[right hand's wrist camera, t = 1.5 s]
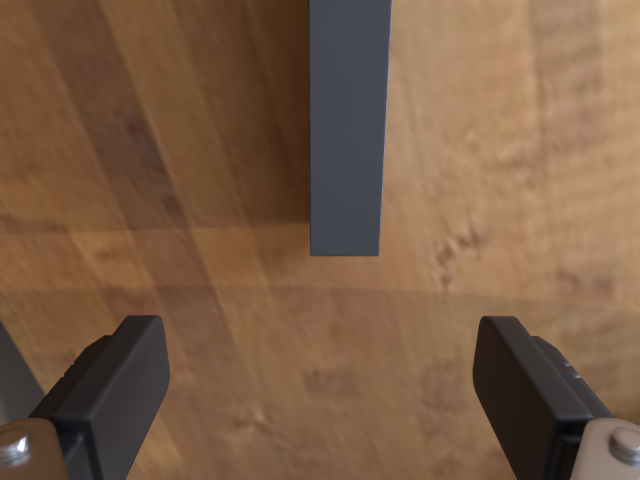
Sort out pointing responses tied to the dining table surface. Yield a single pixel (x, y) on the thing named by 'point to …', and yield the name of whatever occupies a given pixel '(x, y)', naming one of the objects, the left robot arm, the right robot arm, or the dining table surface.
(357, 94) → the bar
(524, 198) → the dining table surface
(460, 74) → the dining table surface
